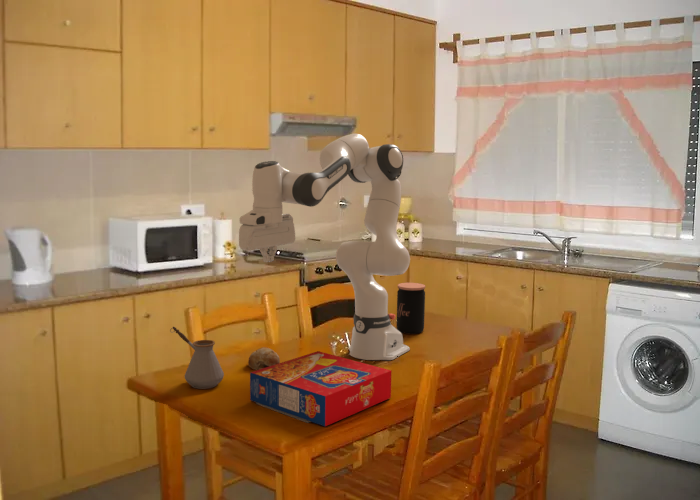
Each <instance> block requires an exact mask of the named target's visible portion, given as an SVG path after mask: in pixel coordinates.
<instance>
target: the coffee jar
mask: <svg viewBox="0 0 700 500" xmlns="http://www.w3.org/2000/svg"><path fill="white" fill-rule="evenodd" d="M425 288H426V285H425V284H422V283H420V282H419V283H418V282H402V283H398V284H397V289H398V290H397V292H396V293H397V295H396V296H397V297H396V327H395V328H396V329H397V330H398V331H400V332H401V334H407V335H416V334H420V333H421V334H422V333H423V331H424V330H425V313H426V312H425V311H426V308H425V307H426V306H425V305H426V291H425Z"/></svg>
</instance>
